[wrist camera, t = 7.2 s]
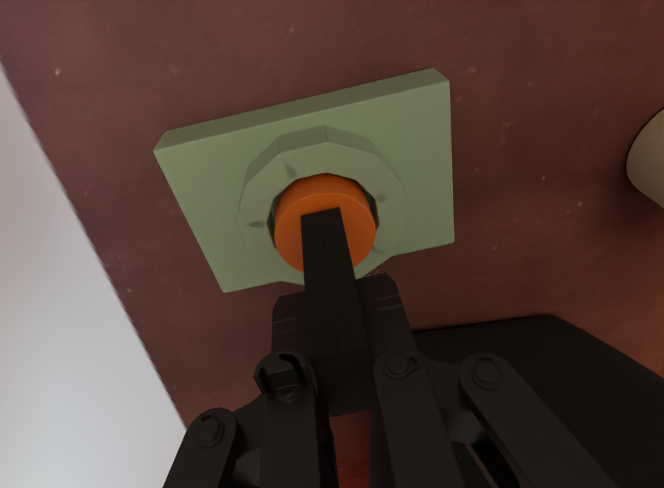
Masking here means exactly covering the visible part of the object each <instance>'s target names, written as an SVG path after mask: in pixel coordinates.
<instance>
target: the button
mask: <svg viewBox="0 0 664 488" xmlns="http://www.w3.org/2000/svg"><path fill="white" fill-rule="evenodd" d="M337 207H340V211H341V215H342V219H343V224H344V228H345V233H346V237H347V242H348V246H349V251H350V255H351V259H352V264H353V267H355V266H356V265H358V264H359V263H360V262H361V261H362V260H363V259H364V258H365V257H366V256H367V255H368V253H369V252H370V250H371V248H372V246H373V243H374V240H375V234H376V229H375V223H374V219H373V216H372V213H371V210H370V207H369V204H368V201H367V198H366V196H365V194H364V192H363V191H362V189H361V188H360V187H359V186H358V185H357V184H356V183H355V182H354V181H352V180H351V179H349V178H346V177H343V176H339V175H335V174H331V173H327V172H325V173H321V174H317V175H312V176H308V177H303V178H299V179H297V180H295V181H294V182H292V183H291V184H290V185H289V186H288V187H287V188H286V189H285V190H284V191H283V192H282V194H281V195H280V197H279V199H278V202H277V205H276V209H275V244H276V248H277V250H278V252H279V254H280V255H281V257H282V258H283V259H284V260H285V262H286V263H288V264H289V265H290V266H291V267H293V268H294V269H296V270H298V271H300V272H303V273H304V270H303V253H302V236H301V219H300V216H301V215H306V214H310V213H315V212H319V211H324V210H328V209H332V208H337Z"/></svg>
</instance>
